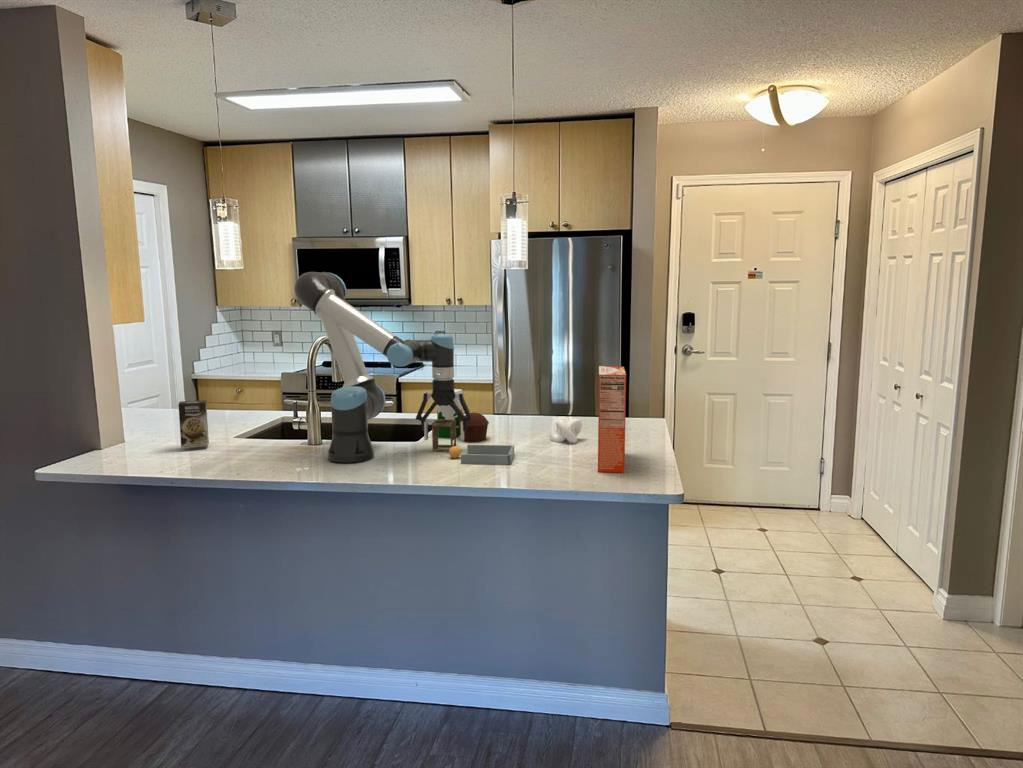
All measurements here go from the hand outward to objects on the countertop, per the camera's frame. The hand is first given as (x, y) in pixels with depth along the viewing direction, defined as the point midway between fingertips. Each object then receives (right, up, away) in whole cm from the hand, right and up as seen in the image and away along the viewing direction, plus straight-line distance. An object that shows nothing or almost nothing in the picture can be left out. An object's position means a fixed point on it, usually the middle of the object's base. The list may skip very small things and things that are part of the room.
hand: (444, 439), depth 236 cm
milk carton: (0, -1, +22) cm, 22 cm away
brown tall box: (-92, -3, +9) cm, 92 cm away
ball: (+5, -3, -12) cm, 13 cm away
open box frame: (0, -3, +1) cm, 3 cm away
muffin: (+9, -2, +16) cm, 18 cm away
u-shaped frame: (+16, -5, -13) cm, 21 cm away
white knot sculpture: (+44, -2, +11) cm, 46 cm away
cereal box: (+55, -6, -19) cm, 59 cm away
